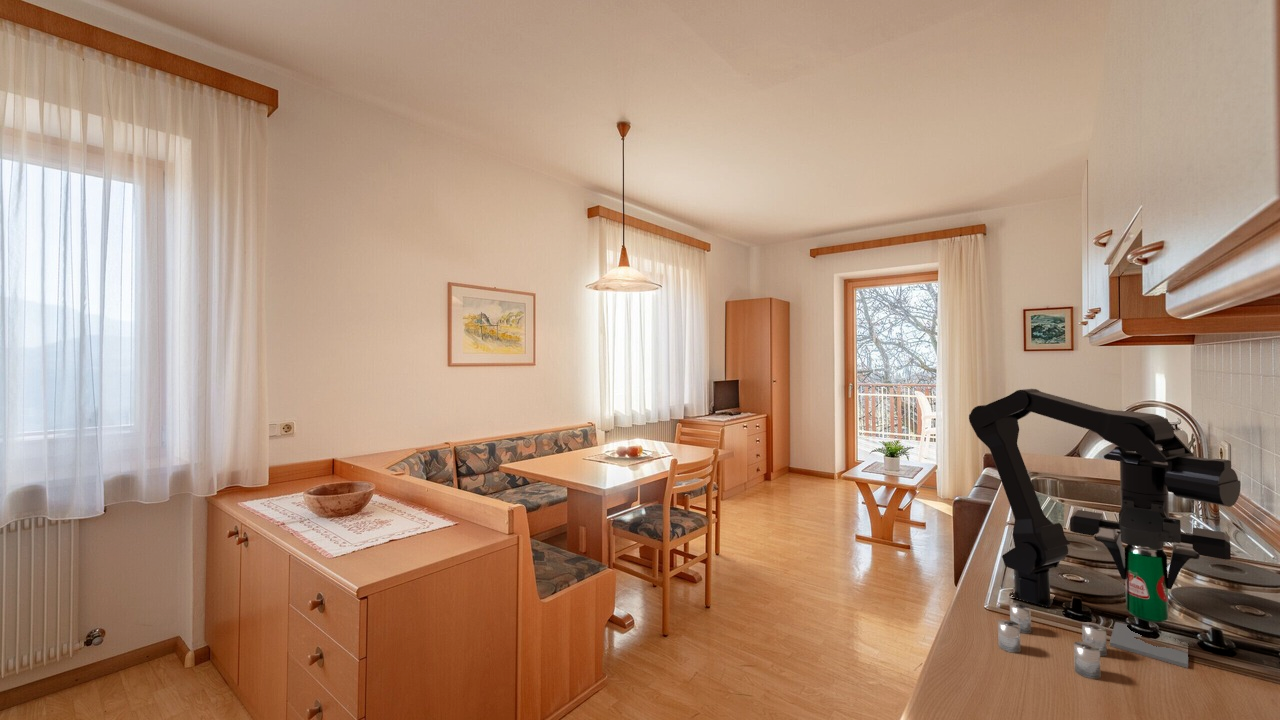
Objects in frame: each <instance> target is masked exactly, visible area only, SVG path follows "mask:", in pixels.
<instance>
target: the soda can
mask: <svg viewBox="0 0 1280 720" xmlns="http://www.w3.org/2000/svg"><path fill="white" fill-rule="evenodd" d="M1164 550H1165V548H1164V547H1163V548H1162V549H1158V550H1156V549H1150V548H1149V547H1145V546H1139V545H1128V544H1126V546H1125V547H1124V560H1125V579H1124V580H1125V582H1124V584H1125V587H1124V588H1125V609H1126V610H1127V612H1128V613H1129V614H1130V615H1131V616H1133V617H1135V618H1137V619H1139V620H1142V621H1145V622H1151V623H1157V624H1158V623H1164V622H1166V621H1167V620H1168V619H1169V591H1168V590H1169V589H1168V588H1167V579H1168V554H1167V553H1166V551H1164Z"/></svg>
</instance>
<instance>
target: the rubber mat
mask: <svg viewBox="0 0 1280 720" xmlns="http://www.w3.org/2000/svg"><path fill="white" fill-rule="evenodd" d="M1127 625H1128V624H1126V623H1123V622H1118V621H1115V622H1114V626H1113V628H1112V632H1111V636H1110V640H1109V642H1108V643H1109V647H1112V648H1116V649H1119V650H1123V651H1126V652H1131V653H1133V654H1137V655H1140V656H1143V657H1147V658H1151V659H1154V660H1158V661H1161V662H1165V663H1169V664H1172V665H1175V666H1179V667H1181V668H1182V667H1183V668H1186V669H1189V657H1188V652H1184V651H1182V650H1176V649H1172V648H1166V647H1158V646H1157V647H1156V646H1153V645H1151V644H1148V643H1145V642H1144V641H1142V640H1140V639H1136V638H1134V637H1140V638H1141V636H1142V635H1140V634H1138V633H1135V632H1133V631H1131V630H1130V629H1129V628H1128V627H1127ZM1165 637H1169V638H1171V637H1173V638H1174V639H1175V640H1176V639H1178V640H1179V641H1181V642H1184V641H1185V642H1186V643H1189V645H1188V646H1189V647H1190V641H1189V640H1188V639H1184V638H1179V637H1176V636H1172V635H1168V634H1165ZM1181 642H1180V643H1181Z"/></svg>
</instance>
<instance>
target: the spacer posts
mask: <svg viewBox="0 0 1280 720" xmlns="http://www.w3.org/2000/svg"><path fill="white" fill-rule="evenodd" d="M1031 616H1032V615H1031V607H1030V606H1028V605H1026V604H1024V603H1020V602H1019V603H1018V602H1011V603H1009V619H999V620H997V635H998V639H997V640H998V647H999V649H1001V650H1003V651H1005V652H1009V653H1012V654H1014V653H1015V654H1017V653H1021V634H1030V633H1032V619H1031V618H1032V617H1031ZM1081 633H1082V634H1081V635H1082V639H1081V640H1082V641H1075V642H1073V652H1074V654H1073V655H1074V659H1073V660H1074V671H1075V672H1076V674H1078V675H1080V676H1082V677H1084V678H1088V679H1092V680H1098V679H1101V675H1102V674H1101V657H1106V656H1107V655H1108V646H1107V641H1108V640H1107V629H1106V627H1104V626H1103V625H1101V624H1098V623H1096V622H1095V623H1094V622H1092V621H1091V622H1089V621H1087V622H1082V623H1081Z"/></svg>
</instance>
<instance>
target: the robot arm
mask: <svg viewBox="0 0 1280 720" xmlns="http://www.w3.org/2000/svg"><path fill="white" fill-rule="evenodd" d="M1031 413H1034V414H1037V415H1041V416H1043V417H1047V418H1050V419H1053V420H1057V421H1060V422H1062V423H1065V424H1069V425H1072V426H1073V425H1074V426H1076V427H1079V428H1083V429H1086V430H1088V431H1091V432H1093V433H1095V434H1097V435H1098V436H1099V437H1100V438H1102V439H1103V440H1105V441H1107V442H1108V443H1111V444H1113V445H1115V447H1114V448H1113V449H1112V450H1111V451H1110V452H1108V453H1106V454H1104V455H1103V458H1104V459H1105V460H1108V461H1109V460H1110V461H1115V462H1119V476H1120V477H1119V483H1120V484H1119V485H1120V510H1119V512H1118V521H1116V520H1110V519H1109V520H1108V519H1104V513H1101V512H1094V511H1090V510H1089V511H1088V510H1084V509H1083V510H1082V509H1076V510H1075V511H1074V512H1073V513H1072V515H1071V517H1069V531H1070V532H1072V533H1074V534H1080V535H1087V536H1092V537H1094V541H1097V542H1099V543H1102V544H1103V545H1104V546H1105V547H1106V549H1107V550H1108V552H1109V553H1110V556H1111V557H1112V559H1113V561H1114V564H1115V567H1116V569H1117V570H1118V573H1119V575H1120V578H1121V579H1122V580H1125V552H1124V548H1123V547H1124V546H1123V544H1125V545H1127V544H1128V545H1139V546H1145V547H1149V548H1150V549H1156V550H1158V549H1162V548H1164V543H1169V544H1172V543H1173V546H1172V551H1171V557H1170V562H1169V568H1168V572H1167V576H1168V579H1167V588H1168V590H1170V591H1171V590H1172V589H1173V586H1174V585H1175V583H1176V580H1177V578H1178V576H1179V573H1180V571H1181V570H1182V568H1183V567H1184V565H1185V564H1186V563H1187V562H1188V561H1189V560H1190V559H1192V560H1199V559H1201V557H1200V556H1203V557H1209V558H1214V559H1220V560H1225V561H1226V560H1227V561H1228V560H1232V556H1231V555H1232V554H1231V552H1232V551H1231V548H1232V547H1231V539H1230V536H1229V535H1228V534H1227V533H1226V532H1225V531H1219V530H1218V531H1217V530H1212V529H1205V528H1199V527H1192V533H1190V532H1183V531H1182V528H1181V527H1182V525H1181V520H1180V519H1176V518H1170V505H1169V502H1170V501H1169V493H1172V494H1173V495H1174V496H1175V497H1177V498H1180V499H1187V500H1190V501H1191V500H1192V501H1196V502H1202V503H1207V504H1212V505H1218V506H1223V507H1228V508H1229V507H1230V508H1231V507H1233V506H1234V505H1235V504H1236V503H1237V501H1238V499H1239V496H1240V493H1241V480H1239V478H1238V475H1237V473H1236V471H1235V470H1234V469H1233V468H1232V461H1231V460H1229V459H1225V458H1224V459H1223V458H1205V457H1199V456H1195V455H1194V452H1192V451H1191V450H1190V449H1189V448H1188V447H1187V446H1186V444H1184V443H1183V441H1182V440H1181V439H1180V438H1179V437H1178V436H1177V435H1176V434H1175V432H1174V429H1173V428H1174V427H1173V426H1172V424H1171V423H1170V422H1169V419H1167V418H1165V417H1164V416H1162V415H1159V414H1155V413H1148V412H1141V411H1139V412H1138V411H1132V410H1131V411H1127V410H1115V409H1114V410H1113V409H1106V408H1102V407H1099V406H1096V405H1092V404H1088V403H1084V402H1080V401H1076V400H1073V399H1069V398H1066V397H1062V396H1059V395H1055V394H1050V393H1047V392H1043V391H1041V390H1039V389H1037V388H1025V389H1019V390H1018V389H1017V390H1015V391H1014V392H1012V393H1010V394H1009V395H1007V396H1005V397H1002V398H1000V399H997V400H994V401H992V402H989V403H988V404H983V405H981V404H980V405H977V406H975V407H974V408H972V409H971V411H970V414H969V415H968V421H969V424H970V426H971V428H972V430H973V431H974V434H975V435H976V437H977V438H978V439H979V440H980V441H981V442H982V443H983V444H984V445H985V446H986V447H988V449H989V451H990V453H991V457H992V460H993V463H994V465H995V467H996V468H995V469H996V470H997V473H998V475H999V479H1000V481H1001V484H1002V486H1003V489H1004V492H1005V495H1006V498H1007V500H1008V504H1009V505H1010V509H1011V511H1012V514H1013V517H1014V523H1013V529H1012V539H1013V543H1014V547H1013V548H1011V549H1010V550H1008V551H1007V552H1005V553H1004V554H1002V555H1001V558H1002V560H1003V564H1004V566H1005V568H1008V569H1011V570H1013V577H1014V578H1013V583H1014V584H1013V585H1014V587H1013V589H1014V588H1015V593H1013V592H1012V593H1011V592H1010V593H1009V594H1008V595H1009V596H1011V595H1013V596H1012V597H1015V598H1018V599H1021V600H1024V601H1028V602H1031V603H1030V604H1032V603H1035V604H1034V605H1036V604H1039V605H1043V606H1047V607H1050V608H1051V607H1052V604H1053V603H1054V601H1053V599H1050V593H1051V582H1050V581H1051V580H1050V579H1051V577H1050V575H1051V574H1050V569H1053V568H1058V567H1059V566H1060V565H1059V564H1060V562H1061V561H1063V560H1065V559H1066V558H1067V556H1068V554H1069V548H1068V546H1069V545H1071V543H1070V542H1069V540H1068V539H1067V538H1066V535H1065V532H1064V528H1063V525H1062V524H1061V523H1060V522H1057V523H1053V522H1052V521H1051V520H1049V518H1048V517H1046V515H1045V514H1044V511H1043V508H1042V506H1041V503H1040V501H1039V499H1038V496H1037V493H1036V490H1035V488H1034V485H1033V482H1032V480H1031V477H1030V475H1029V472H1028V469H1027V467H1026V465H1025V462H1024V459H1023V457H1022V453H1021V451H1020V449H1019V446H1018V439H1019V435H1020V434H1019V433H1020V426H1019V420H1021V419H1023V418H1025V417H1026V416H1028V415H1030V414H1031ZM1160 448H1162V449H1160ZM1024 601H1023V602H1024ZM1028 602H1027V603H1028ZM1039 605H1038V606H1039ZM1043 606H1042V607H1043ZM1047 607H1046V608H1047Z"/></svg>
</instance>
